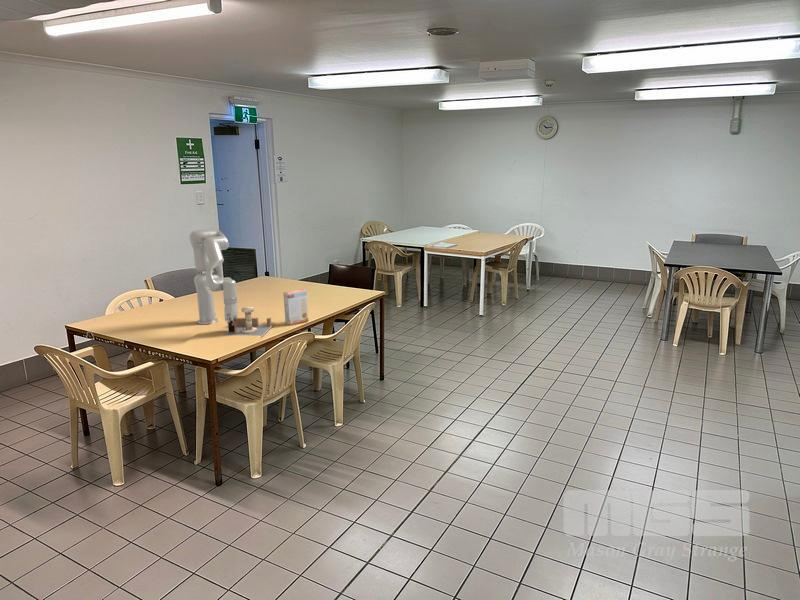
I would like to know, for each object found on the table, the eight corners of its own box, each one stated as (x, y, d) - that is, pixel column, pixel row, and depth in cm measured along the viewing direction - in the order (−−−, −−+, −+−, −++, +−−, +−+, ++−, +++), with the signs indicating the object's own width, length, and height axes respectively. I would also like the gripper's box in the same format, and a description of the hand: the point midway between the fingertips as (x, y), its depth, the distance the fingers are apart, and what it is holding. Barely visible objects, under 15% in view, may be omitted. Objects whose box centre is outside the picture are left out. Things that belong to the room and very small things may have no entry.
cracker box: (303, 319, 352) (302, 288, 347) (308, 321, 347) (307, 290, 342) (284, 323, 343) (282, 291, 338) (289, 325, 338) (287, 293, 333)
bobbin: (244, 329, 327) (242, 306, 324) (259, 329, 326) (257, 306, 323) (239, 333, 318) (237, 310, 315) (254, 333, 318) (252, 310, 314)
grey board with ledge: (234, 327, 335) (234, 317, 333) (271, 328, 334) (270, 317, 332) (223, 337, 316) (222, 326, 314) (262, 337, 314) (261, 327, 313)
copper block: (231, 330, 324) (230, 319, 322) (237, 330, 324) (236, 319, 322) (228, 332, 320) (227, 321, 318) (235, 332, 320) (234, 321, 318)
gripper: (229, 297, 326) (231, 326, 330) (219, 304, 309) (221, 334, 314) (241, 297, 325) (243, 326, 330) (231, 304, 309) (234, 334, 313)
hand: (233, 330), depth 322 cm, fingers closed on copper block, 4 cm apart
